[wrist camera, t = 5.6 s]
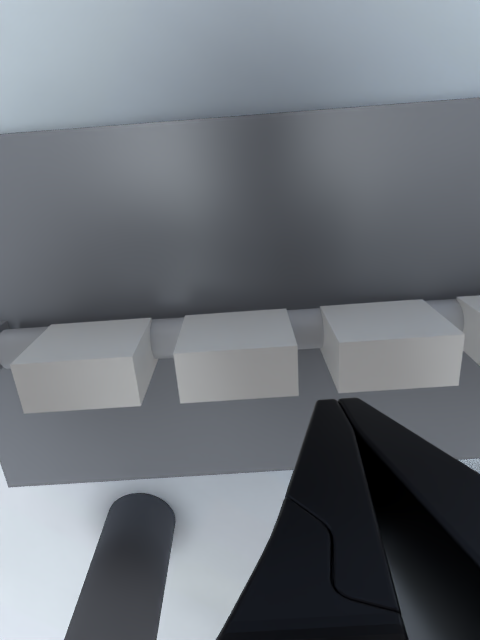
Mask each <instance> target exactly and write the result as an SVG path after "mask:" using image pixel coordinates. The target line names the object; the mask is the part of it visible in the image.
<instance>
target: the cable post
mask: <svg viewBox="0 0 480 640" xmlns="http://www.w3.org/2000/svg"><path fill="white" fill-rule="evenodd" d="M174 527H175V515H174V513H173V511H172V509H171V507H170V506H169V505H168V504H167V503H166V502H164V501H163V500H161V499H160V498H158V497H155V496H153V495H149V494H142V493H136V494H130V495H126V496H124V497H122V498H120V499H118V500H117V501H116V502H114V504H113V505H112V506H111V508H110V510H109V513H108V515H107V518H106V521H105V524H104V527H103V530H102V533H101V536H100V538H99V541H98V544H97V547H96V550H95V553H94V556H93V558H92V561H91V564H90V567H89V570H88V573H87V576H86V579H85V581H84V584H83V587H82V590H81V593H80V596H79V599H78V602H77V604H76V607H75V610H74V613H73V616H72V619H71V622H70V624H69V627H68V630H67V633H66V636H65V639H64V640H156V639H157V633H158V626H159V620H160V614H161V608H162V602H163V595H164V589H165V583H166V577H167V571H168V565H169V558H170V552H171V546H172V540H173V534H174Z"/></svg>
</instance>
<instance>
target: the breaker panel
mask: <svg viewBox="0 0 480 640" xmlns="http://www.w3.org/2000/svg"><path fill="white" fill-rule="evenodd" d="M476 295H480V98H467V99H454V100H441V101H428V102H415V103H401V104H388V105H375V106H362V107H349V108H336V109H323V110H310V111H296V112H283V113H270V114H257V115H244V116H231V117H218V118H205V119H191V120H178V121H165V122H152V123H139V124H126V125H113V126H99V127H86V128H73V129H60V130H47V131H34V132H21V133H8V134H0V333H1V332H2V331H3V330H5V329H19V328H34V327H48V326H50V325H51V324H65V323H80V322H95V321H109V320H124V319H139V318H152V319H166V318H181V317H185V315H197V314H212V313H227V312H241V311H256V310H271V309H285V308H286V310H298V309H313V308H320V306H329V305H344V304H359V303H373V302H388V301H403V300H417V299H423V300H424V301H430V300H445V299H456V298H457V297H461V296H476ZM298 386H299V396H289V397H274V398H258V399H243V400H227V401H212V402H197V403H181V404H180V398H179V391H178V384H177V377H176V370H175V362H174V358H163V359H158V361H157V364H156V366H155V369H154V372H153V375H152V377H151V380H150V383H149V385H148V388H147V391H146V394H145V396H144V399H143V402H142V405H141V406H135V407H119V408H104V409H88V410H73V411H57V412H42V413H26V414H24V412H23V409H22V405H21V402H20V398H19V395H18V392H17V388H16V385H15V381H14V378H13V374H12V371H11V369H6V368H4V367H3V366H2V365H1V364H0V463H1V466H2V469H3V472H4V475H5V478H6V481H7V484H8V487H21V486H38V485H54V484H70V483H86V482H103V481H119V480H135V479H151V478H168V477H184V476H200V475H216V474H232V473H249V472H265V471H281V470H294V468H295V465H296V462H297V458H298V455H299V452H300V449H301V446H302V443H303V440H304V437H305V434H306V431H307V428H308V425H309V422H310V418H311V415H312V412H313V409H314V406H315V403H316V401H317V400H322V399H336V400H337V401H338V400H339V399H341V398H353V397H357V398H359V399H361V400H363V401H364V402H366V403H368V404H369V405H371V406H372V407H374V408H376V409H377V410H379V411H380V412H382V413H384V414H385V415H387V416H388V417H390V418H391V419H393V420H395V421H396V422H398V423H399V424H401V425H403V426H404V427H406V428H407V429H409V430H411V431H412V432H414V433H415V434H417V435H419V436H420V437H422V438H423V439H425V440H427V441H428V442H430V443H431V444H433V445H435V446H436V447H438V448H439V449H441V450H442V451H444V452H446V453H447V454H449V455H450V456H452V457H454V458H455V459H457V460H460V459H476V458H480V366H479V365H478V364H477V363H476V362H475V361H474V360H473V359H472V358H471V357H469V356H468V355H467V354H466V353H465V352H464V351H463V355H462V362H461V370H460V378H459V386H444V387H429V388H413V389H398V390H382V391H367V392H351V393H338V391H337V389H336V386H335V384H334V381H333V379H332V376H331V374H330V372H329V369H328V367H327V364H326V362H325V359H324V357H323V355H322V352H321V350H320V348H313V349H298Z"/></svg>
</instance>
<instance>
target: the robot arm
mask: <svg viewBox="0 0 480 640" xmlns="http://www.w3.org/2000/svg"><path fill="white" fill-rule="evenodd" d="M216 640H480V474H479V473H478V472H476V471H474V470H473V469H471V468H470V467H468V466H466V465H465V464H463V463H462V462H460V461H458V460H457V459H455V458H454V457H452V456H450V455H449V454H447V453H446V452H444V451H442V450H441V449H439V448H438V447H436V446H435V445H433V444H431V443H430V442H428V441H427V440H425V439H423V438H422V437H420V436H419V435H417V434H415V433H414V432H412V431H411V430H409V429H407V428H406V427H404V426H403V425H401V424H399V423H398V422H396V421H395V420H393V419H391V418H390V417H388V416H387V415H385V414H384V413H382V412H380V411H379V410H377V409H376V408H374V407H372V406H371V405H369V404H368V403H366V402H364V401H363V400H361V399H359V398H357V397H353V398H341V399H339V400H338V401H337V400H336V399H322V400H317V401H316V403H315V406H314V409H313V412H312V415H311V418H310V422H309V425H308V428H307V431H306V434H305V437H304V440H303V443H302V446H301V449H300V452H299V455H298V458H297V462H296V465H295V468H294V471H293V474H292V477H291V480H290V483H289V486H288V489H287V492H286V495H285V499H284V501H283V504H282V507H281V510H280V513H279V516H278V518H277V521H276V523H275V526H274V529H273V531H272V534H271V536H270V538H269V541H268V543H267V545H266V547H265V549H264V551H263V553H262V555H261V557H260V559H259V561H258V563H257V565H256V567H255V569H254V571H253V572H252V574H251V576H250V578H249V580H248V582H247V584H246V586H245V587H244V589H243V591H242V593H241V595H240V597H239V599H238V601H237V602H236V604H235V606H234V608H233V610H232V612H231V614H230V616H229V617H228V619H227V621H226V623H225V625H224V627H223V628H222V630H221V632H220V634H219V635H218V637H217V638H216Z"/></svg>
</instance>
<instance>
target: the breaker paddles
mask: <svg viewBox="0 0 480 640" xmlns="http://www.w3.org/2000/svg"><path fill="white" fill-rule="evenodd" d="M313 348H320V350H321V352H322V355H323V357H324V359H325V362H326V364H327V367H328V369H329V372H330V374H331V376H332V379H333V381H334V384H335V386H336V389H337V391H338V393H351V392H367V391H382V390H398V389H413V388H429V387H444V386H459V378H460V370H461V362H462V355H463V351H464V352H465V353H466V354H467V355H468V356H469V357H471V358H472V359H473V360H474V361H475V362H476V363H477V364H478V365H479V366H480V295H476V296H461V297H457V298H456V299H445V300H430V301H424V300H423V299H417V300H403V301H388V302H373V303H359V304H344V305H329V306H320V308H313V309H298V310H286V308H285V309H271V310H256V311H241V312H227V313H212V314H197V315H185V317H181V318H166V319H152V318H139V319H124V320H109V321H95V322H80V323H65V324H51V325H50V326H48V327H34V328H19V329H5V330H3V331H2V332H1V333H0V364H1V365H2V366H3V367H4V368H6V369H11V371H12V374H13V378H14V381H15V385H16V388H17V392H18V395H19V398H20V402H21V405H22V409H23V412H24V414H26V413H42V412H57V411H73V410H88V409H104V408H119V407H135V406H141V405H142V402H143V399H144V396H145V394H146V391H147V388H148V385H149V383H150V380H151V377H152V375H153V372H154V369H155V366H156V364H157V361H158V359H163V358H174V362H175V370H176V377H177V384H178V391H179V398H180V404H181V403H197V402H212V401H227V400H243V399H258V398H274V397H289V396H299V386H298V349H313Z"/></svg>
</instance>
